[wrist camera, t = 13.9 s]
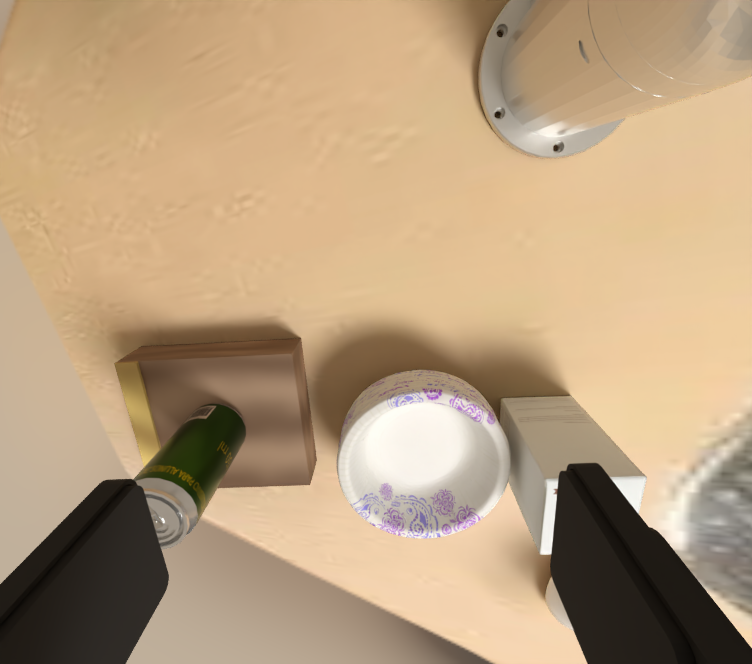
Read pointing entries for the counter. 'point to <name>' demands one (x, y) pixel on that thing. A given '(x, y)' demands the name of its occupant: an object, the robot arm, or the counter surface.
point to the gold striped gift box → (232, 387)
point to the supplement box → (557, 457)
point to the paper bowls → (422, 455)
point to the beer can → (190, 469)
